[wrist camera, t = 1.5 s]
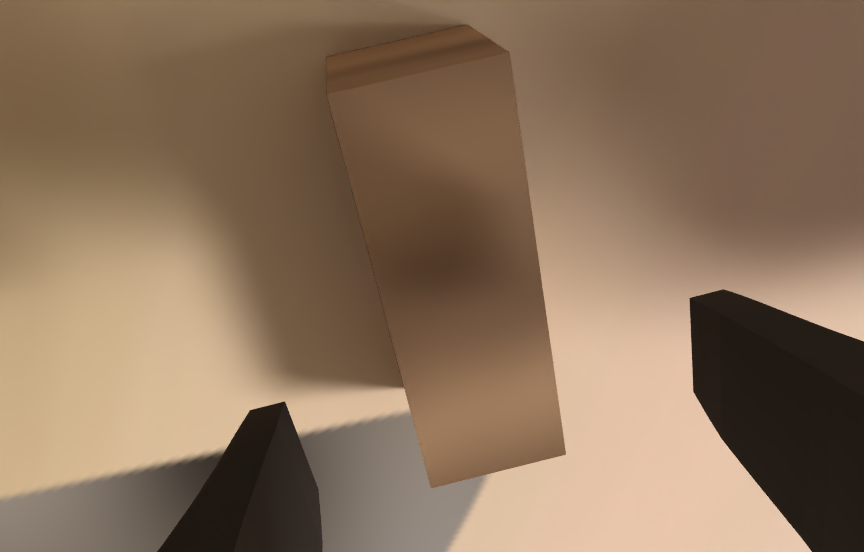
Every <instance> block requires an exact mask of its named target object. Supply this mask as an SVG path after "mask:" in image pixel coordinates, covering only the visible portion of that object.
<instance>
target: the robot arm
mask: <svg viewBox="0 0 864 552" xmlns="http://www.w3.org/2000/svg"><path fill="white" fill-rule="evenodd" d="M690 317H691V342H692V366H693V391H694V393H695V395H696V397H697V399H698V400H699V402H700V404H701V405H702V407H703V409H704V411H705V412H706V414H707V416H708V417H709V419H710V421H711V422H712V424H713V425H714V427H715V429H716V430H717V432H718V434H719V435H720V437H721V438H722V440H723V441H724V442H725V443H726V445H727V446H728V447H729V449H730V450H731V451H732V452H733V454H734V455H735V456H736V457H737V459H738V460H739V461H740V462H741V464H742V465H743V466H744V467H745V469H746V470H747V471H748V472H749V474H750V475H751V476H752V477H753V479H754V480H755V481H756V482H757V484H758V485H759V486H760V487H761V488H762V490H763V491H764V492H765V493H766V495H767V496H768V497H769V498H770V500H771V501H772V502H773V503H774V504H775V506H776V507H777V508H778V509H779V511H780V512H781V513H782V514H783V516H784V517H785V518H786V519H787V520H788V522H789V523H790V524H791V525H792V527H793V528H794V529H795V530H796V532H797V533H798V534H799V535H800V536H801V538H802V539H803V540H804V542H805V543H806V544H807V546H808V547H809V548H810V550H811V551H812V552H864V342H863V341H861V340H858V339H855V338H852V337H849V336H846V335H844V334H841V333H838V332H836V331H833V330H830V329H827V328H825V327H822V326H819V325H817V324H814V323H812V322H809V321H806V320H804V319H801V318H799V317H796V316H794V315H791V314H788V313H786V312H783V311H781V310H778V309H776V308H773V307H771V306H768V305H766V304H763V303H760V302H758V301H755V300H753V299H750V298H747V297H745V296H742V295H739V294H736V293H733V292H730V291H727V290H724V289H723V290H719V291H715V292H712V293H708V294H704V295H700V296H696V297H692V298H690ZM157 552H322V530H321V515H320V504H319V493H318V487H317V485H316V482H315V479H314V477H313V474H312V471H311V469H310V466H309V464H308V461H307V458H306V456H305V453H304V450H303V448H302V446H301V443H300V440H299V437H298V435H297V432H296V429H295V427H294V424H293V422H292V419H291V416H290V414H289V411H288V408H287V406H286V403H285V402H281V403H277V404H273V405H269V406H265V407H261V408H257V409H254V410H250V411H249V413H248V415H247V416H246V418H245V419H244V421H243V422H242V424H241V425H240V427H239V429H238V430H237V432H236V434H235V435H234V437H233V439H232V440H231V442H230V444H229V445H228V447H227V449H226V450H225V452H224V454H223V455H222V457H221V459H220V460H219V462H218V463H217V465H216V467H215V468H214V470H213V472H212V473H211V475H210V476H209V478H208V479H207V481H206V482H205V484H204V485H203V487H202V489H201V490H200V492H199V494H198V495H197V497H196V498H195V500H194V501H193V503H192V504H191V506H190V507H189V508H188V510H187V511H186V513H185V514H184V515H183V517H182V518H181V520H180V521H179V522H178V524H177V525H176V527H175V528H174V529H173V531H172V532H171V534H170V535H169V537H168V538H167V539H166V541H165V542H164V544H163V545H162V546H161V548H160V549H159V550H158V551H157Z"/></svg>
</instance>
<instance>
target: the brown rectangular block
mask: <svg viewBox="0 0 864 552" xmlns="http://www.w3.org/2000/svg"><path fill="white" fill-rule="evenodd" d="M326 95H327V99H328V103H329V107H330V110H331V114H332V118H333V122H334V125H335V129H336V133H337V137H338V140H339V144H340V148H341V152H342V155H343V159H344V163H345V167H346V170H347V174H348V178H349V182H350V185H351V189H352V193H353V197H354V201H355V204H356V208H357V212H358V216H359V219H360V223H361V227H362V231H363V234H364V238H365V242H366V246H367V249H368V253H369V257H370V261H371V264H372V268H373V272H374V276H375V280H376V283H377V287H378V291H379V295H380V298H381V302H382V306H383V310H384V313H385V317H386V321H387V325H388V328H389V332H390V336H391V340H392V343H393V347H394V351H395V355H396V358H397V362H398V366H399V370H400V374H401V377H402V381H403V385H404V389H405V392H406V396H407V400H408V404H409V407H410V411H411V415H412V419H413V422H414V426H415V430H416V434H417V437H418V441H419V445H420V449H421V452H422V456H423V460H424V464H425V468H426V471H427V475H428V479H429V483H430V486H431V488H434V487H438V486H442V485H446V484H450V483H453V482H458V481H462V480H466V479H470V478H474V477H478V476H482V475H486V474H490V473H494V472H498V471H502V470H506V469H510V468H514V467H518V466H522V465H526V464H530V463H534V462H538V461H542V460H546V459H550V458H554V457H558V456H562V455H566V451H565V444H564V437H563V430H562V423H561V416H560V409H559V402H558V395H557V388H556V381H555V374H554V366H553V359H552V352H551V345H550V338H549V331H548V324H547V317H546V310H545V303H544V296H543V289H542V281H541V274H540V267H539V260H538V253H537V246H536V239H535V232H534V225H533V218H532V211H531V204H530V196H529V189H528V182H527V175H526V168H525V161H524V154H523V147H522V140H521V133H520V126H519V119H518V111H517V104H516V97H515V90H514V83H513V76H512V69H511V62H510V55H509V52H508V51H506V50H505V49H503V48H502V47H500V46H499V45H497V44H496V43H494V42H493V41H491V40H490V39H488V38H487V37H485V36H484V35H482V34H481V33H479V32H478V31H476V30H475V29H473V28H472V27H470V26H469V25H463V26H459V27H455V28H450V29H446V30H442V31H437V32H433V33H428V34H424V35H420V36H415V37H411V38H407V39H402V40H398V41H394V42H389V43H385V44H381V45H376V46H372V47H367V48H363V49H359V50H354V51H350V52H346V53H341V54H337V55H333V56H328V57H326Z"/></svg>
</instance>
